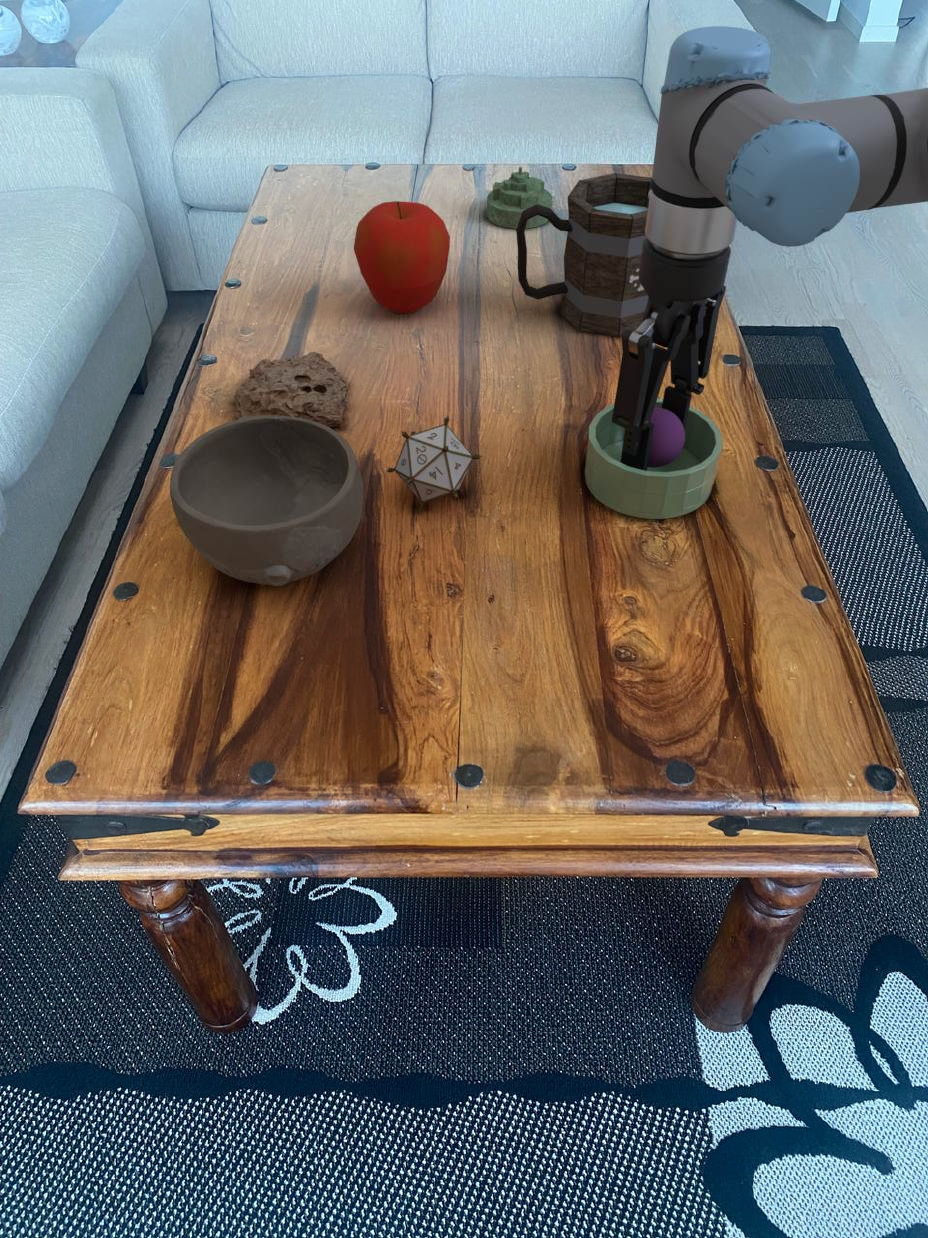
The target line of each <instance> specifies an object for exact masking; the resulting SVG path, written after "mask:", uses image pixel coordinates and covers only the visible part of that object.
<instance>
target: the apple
mask: <svg viewBox="0 0 928 1238" xmlns="http://www.w3.org/2000/svg"><path fill="white" fill-rule="evenodd" d="M449 233H450V232H449V231H448V228H447V226H446V224H445V221H444V220H443V218H442V217H441V216H439V214H438V213H437V212H435V211H434V210H433V209H432V208H431V207H429V206H428V205H426V204H424V203H420V202H412V201H399V200H393V201H385V202H382V203H379V204H377V205H375V206H374V207H372V208H371V209H370V210H369V211H367V213H366V214H365V215H364V216H363V217H362V218H361V219H360V220H359V221H358V223H357V226H356V229H355V237H354V243H353V252H354V255H355V258H356V262H357V264H358V269H359V271H360V274H361V276H362V277H363V280H364V282H365V285H366V286H367V288H368V290H369V292H370V294H371V296H372V298H373V299H374V301H375V302H376V303H377V304H378V305H380V306H381V307H383V308H385V309H387V310H389V311H390V312H393V313H395V314H409V313H410V314H411V313H415V312H418V311H419V310H422V309H423V308H425V307H426V306H428V305H430V304H431V303H433V301H434V299H435V298H436V297H437V295H438V293H439V290H440V288H441V286H442V283H443V281H444V277H445V275H446V273H447V268H448V261H449V255H450V254H449V252H450V247H451V236H450V234H449Z"/></svg>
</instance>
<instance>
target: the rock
mask: <svg viewBox="0 0 928 1238" xmlns="http://www.w3.org/2000/svg"><path fill="white" fill-rule="evenodd" d="M248 371H249V376H248V379H247V380H245V381H243V382H241V387H240V388H237V389H236V390H235V395H234V399H235V408H236V412H235V414H234V415H235V416H234V420H237V419H241V418H246V417H250V416H259V415H277V416H290V417H299V418H304V419H308V420H312V421H315V422H318V423H320V424H323V425H325V426H327V427H329V428H331V429H332V428H335V427H342V424H343V416H344V411H345V409H346V407H347V406H348V405H349V401H348V400H347V398H345V397H346V393H347V389H348V388H349V385H348V383H347V381H346V380H344V379H343V373H342V371H338V370H337V368H336V366H334V365H333V364H332V363H331V362H330V361H329V360H326V359H325V357H324V355H323V354H322V353H319V352H317V351H310V352H308V353H307V354H304V355H302V356H298V357H297V356H296V355H293V356H292V357H291V358H289V359H288V358H286V357H285V358H282V359H273V360H270V359H267V358H261V360H260V361H259V362H258V363H257V364H256V366H255V367H254V368H252V369H251V368H250V369H248Z"/></svg>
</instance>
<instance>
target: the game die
mask: <svg viewBox="0 0 928 1238" xmlns="http://www.w3.org/2000/svg"><path fill="white" fill-rule="evenodd" d="M449 422H450V417H449V415H447V416H446V417H444V420H443V424H440V425H436V426H434V427H431V428H428V429H424V430H421V431H418V432H415V431H413V430H412V431H410V435H409V433H408V432H407V431H403V430H401V431H400V432H401V437H403V438H405V440H404V442H403V445H402V447H401V449H400V453H399V455H398V459H397V460H396V463H395V466H394V467H388V469H387V470H386V472H387V473H389V474H391V473H394V472H395V474H396V475H398V478H400V479H401V481H402V482H403V483H404V484H405V485H406V487H407V488H408V489H409V490H410V491H411V492H412V494H413V495H414V496H415V498H417V499H418V501H419V503H418V505H417V507H418V510H419V512H420V511H421V510H422V509H424V507H425V505H424V503H427V502H429V501H433V500H436V499H438V498H441V497H444V496H447V495H450V494H451V495H452V497H453V498H458V495H465V490H464V489H463V488H461V487H462V485H463V483H464V481H465V478H466V476H467V474H468V472H469V470H470V468H471V466H472V464H473V462H474V460H475V461H477V460H480V459H481V458H482V457H483V455H481V454H474V455H473V454H472V453H471V451H470V450H469V449H468V448H467V447H466V445H465V444H464V443H463V442H462V441H461V440H460V439H459V437H458V436H457V435H456V433H454V431H453V430H452V429H451V427H450V426H449V425H448V424H449Z"/></svg>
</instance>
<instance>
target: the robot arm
mask: <svg viewBox="0 0 928 1238" xmlns="http://www.w3.org/2000/svg"><path fill="white" fill-rule="evenodd" d="M771 52H772V51H771V47H770V43H769V40H768V39H767V38H766V37H765V36H764V35H762V34H761V33H759V32H758V31H757V32H756V31H754V30H751V29H748V28H743V27H737V26H726V25H725V26H723V25H715V26H703V27H697V28H693V29H690V30H687V31H684V32H683V33H681V34H679V35H678V36H677V37H676V38H675V39H674V41H673V43H672V44H671V46H670V49H669V54H668V59H667V65H666V69H665V70H666V71H665V77H664V82H663V85H662V86H661V87H660V95H661V97H660V105H659V114H658V115H659V116H658V121H657V122H658V123H657V131H656V139H655V147H654V148H655V149H654V155H653V156H654V157H653V165H652V173H651V174H652V175H651V176H652V177H651V178H652V182H651V190H650V191H649V194H648V197H649V206H648V213H647V220H646V227H645V234H646V237H647V238H646V239H645V240H644V242H643V246H642V253H641V261H640V268H639V281H640V284H641V285H642V287H643V288H644V290H645V291H646V293H647V295H648V302H647V305H646V308H645V311H644V313H643V323H642V324H641V325H640V326H639V327H638V328H637V329H636V330H635V331H634V330H632V329H630V328H627V329H625V331H624V332H623V334H622V336H621V349H622V355H621V362H620V367H619V373H618V380H617V385H616V391H615V399H614V403H613V404H614V410H613V416H612V422H613V423H615V424H617V425H619V426H621V427H623V428H625V433H624V440H623V449H622V456H621V463H623V464H625V465H627V466H629V467H632V468H636V469H640V470H644V471H647V466H648V460H649V454H650V448H651V442H652V436H653V430H654V424H652V423H650V420H651V417H652V414H653V410H654V407H655V404H656V401H657V398H659V395H660V392H661V388H662V385H663V382H664V379H665V376H666V372H667V369H668V366H669V363H670V383H671V384H672V385H674V386H671V385H668V386H666V387H665V388H664V392H663V398H662V399H663V403H662V408H663V409H666V410H669V411H671V412H672V413H674V414H675V415H676V416H677V417H678V418H679V419H680V421H681V423H682V425H683V427H684V431H685V428H686V423H687V417H688V412H689V407H691V402H692V397H693V396H692V394H695V395H697V396H700V395H701V394H702V393H703V391H704V390H705V384H702V383H700V382H699V379H701V380H704V379H706V378H707V377H708V375H709V371H710V366H711V361H712V360H711V359H712V354H713V349H714V342H715V338H716V331H717V330H716V329H717V325H718V320H719V313H720V309H721V307H722V302H723V300H724V297H725V294H726V291H727V286H726V285H725V283H726V278H727V273H728V268H729V263H730V258H731V253H732V249H731V245H732V244H733V242H734V241H735V236H736V231H737V226H738V222H739V223H740V224H742V226H744V227H747V228H748V229H749V230H750V231H752V232H756V233H757V234H759V235H760V236H762V237H763V238H764V239H766V240H767V241H769V242H770V243H772V244H774V245H777V246H781V247H787V248H788V247H800V246H805V245H808V244H810V243H812V242H814V241H815V240H816V238H818V237H820V236H822V235H823V234H824V233H828V232H830V231H831V230H833V229H834V228H835V227H836V226H837V225H838V224H839V223H840V222H841V221H842V219H844V217H845V216H846V214H850V213H857V212H863V211H870V210H874V209H878V208H879V209H880V208H887V207H888V208H889V207H896V206H904V205H911V204H921V203H926V202H928V87H924V88H919V89H913V90H907V91H900V92H892V93H887V94H885V93H884V94H871V95H863V96H853V97H845V98H838V99H828V100H821V101H819V100H818V101H812V102H804V103H794V102H790V101H788V100H786V99H784V98H783V97H782V96H781V95H778V93H775V92H774V91H772V90H771V89H770V88H768V87H767V86H766V85H767V81H768V79H770V75H771V72H770V65H771V64H770V63H771Z"/></svg>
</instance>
